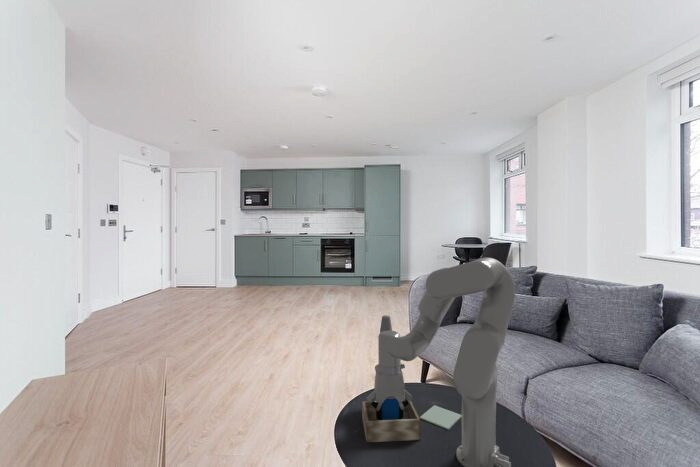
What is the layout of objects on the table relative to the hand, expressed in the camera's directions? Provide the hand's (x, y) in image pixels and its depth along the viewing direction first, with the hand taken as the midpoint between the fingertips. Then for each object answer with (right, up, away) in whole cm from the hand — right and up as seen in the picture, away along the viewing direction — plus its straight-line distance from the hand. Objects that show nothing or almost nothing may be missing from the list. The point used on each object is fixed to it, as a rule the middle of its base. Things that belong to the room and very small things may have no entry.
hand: (389, 419), depth 119 cm
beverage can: (0, -3, 0) cm, 3 cm away
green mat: (+19, -3, +7) cm, 21 cm away
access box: (0, -3, 0) cm, 3 cm away
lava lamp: (0, -3, +15) cm, 15 cm away
